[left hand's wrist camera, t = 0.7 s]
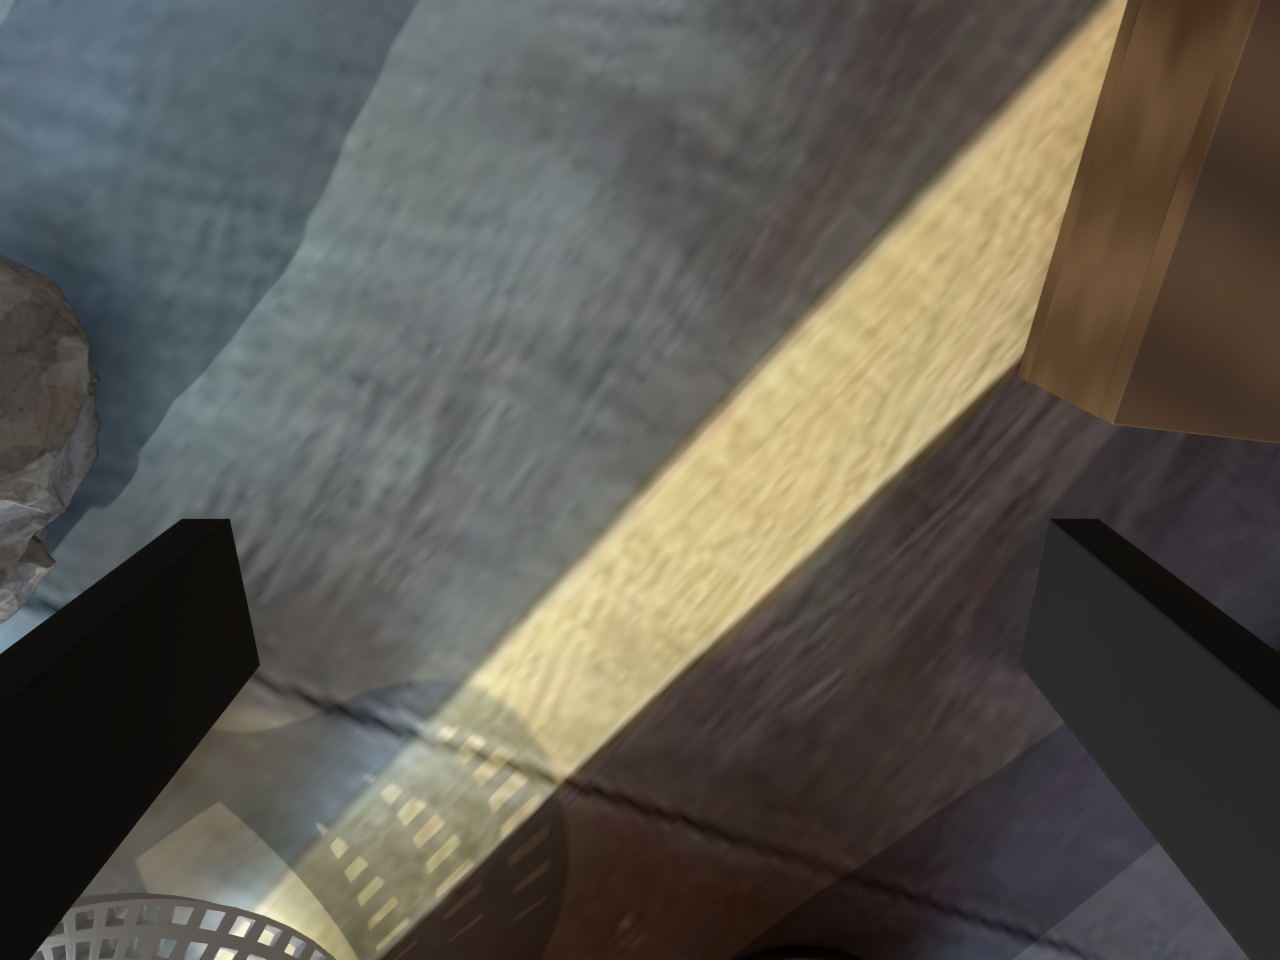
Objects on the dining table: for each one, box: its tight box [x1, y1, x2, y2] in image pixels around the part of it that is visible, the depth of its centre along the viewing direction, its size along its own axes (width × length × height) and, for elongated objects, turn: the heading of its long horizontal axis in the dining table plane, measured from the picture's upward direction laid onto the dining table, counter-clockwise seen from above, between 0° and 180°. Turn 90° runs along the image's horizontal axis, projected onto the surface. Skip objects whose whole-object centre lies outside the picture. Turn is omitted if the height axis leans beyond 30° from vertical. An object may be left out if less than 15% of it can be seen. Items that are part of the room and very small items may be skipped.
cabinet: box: [1018, 0, 1280, 444], centre depth 32 cm, size 18×11×8 cm, turn 173°
